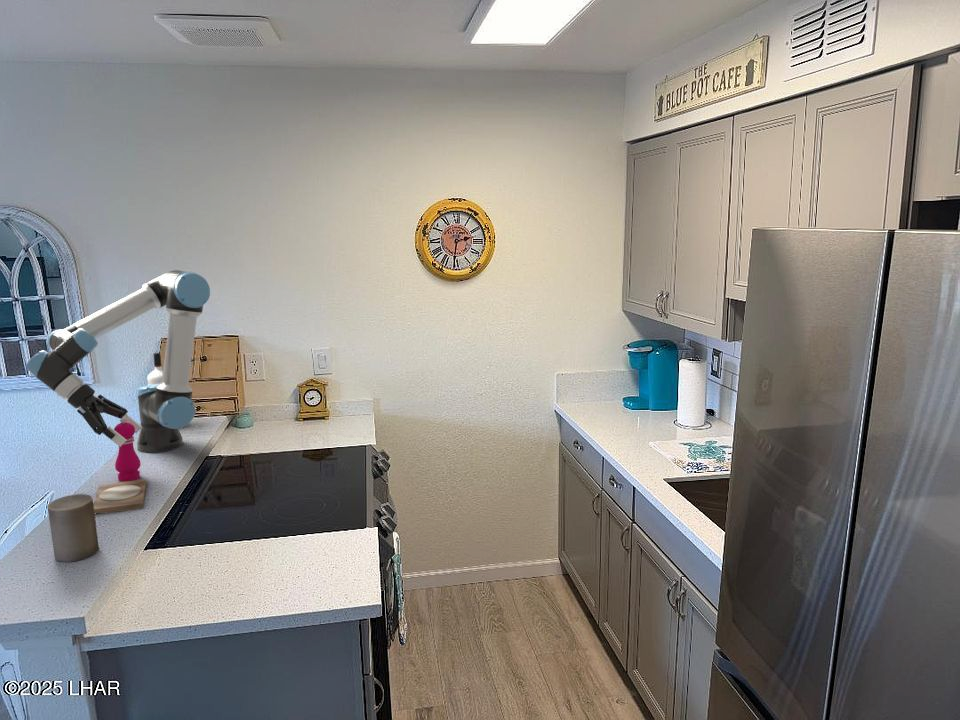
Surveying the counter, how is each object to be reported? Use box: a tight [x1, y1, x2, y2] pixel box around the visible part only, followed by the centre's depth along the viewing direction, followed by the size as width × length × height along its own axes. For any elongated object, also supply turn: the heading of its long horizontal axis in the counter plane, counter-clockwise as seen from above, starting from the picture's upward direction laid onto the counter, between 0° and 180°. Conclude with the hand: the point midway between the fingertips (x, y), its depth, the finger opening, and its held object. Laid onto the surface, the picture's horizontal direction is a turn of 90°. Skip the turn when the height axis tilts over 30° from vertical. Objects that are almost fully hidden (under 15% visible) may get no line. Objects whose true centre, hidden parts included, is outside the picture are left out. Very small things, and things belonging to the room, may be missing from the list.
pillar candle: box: [46, 493, 100, 563], centre depth 168 cm, size 10×10×15 cm
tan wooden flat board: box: [93, 478, 148, 514], centre depth 203 cm, size 20×13×2 cm, turn 23°
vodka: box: [146, 352, 163, 385], centre depth 270 cm, size 9×9×30 cm
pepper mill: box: [113, 418, 141, 482], centre depth 217 cm, size 7×7×20 cm
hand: (131, 436), depth 216 cm, fingers open, 13 cm apart
